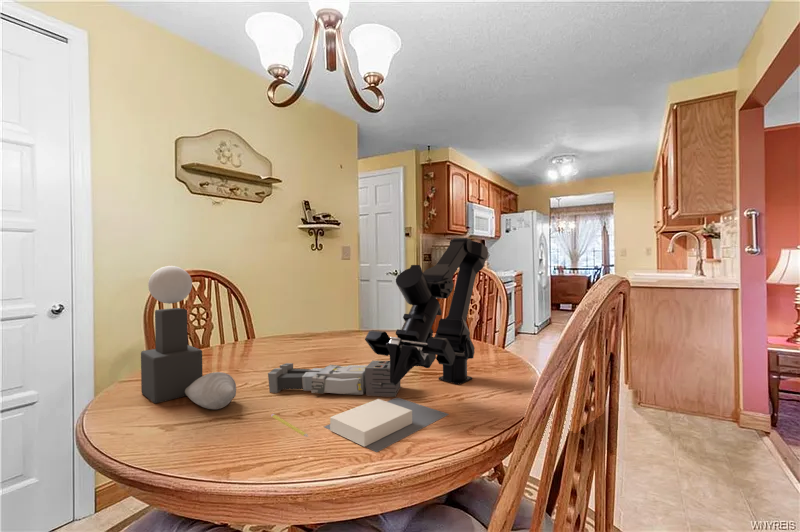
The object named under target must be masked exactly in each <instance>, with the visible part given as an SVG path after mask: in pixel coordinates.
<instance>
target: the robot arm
mask: <svg viewBox="0 0 800 532" xmlns="http://www.w3.org/2000/svg"><path fill="white" fill-rule="evenodd" d="M488 257H489V250H488V247H487V246H486V245H484V243H483V242H478V241H475V240H472V239H471V238H468V237H458V238H457V237H456V238H452V239H451V240H450V241H449V245H448V247H447V248H446V250H445V251H444V253H443V254H442V255H441V257H440V258H439V260H438V261H437V263H436V264H435V265H434V266H432V267H429V268H427V269H425V270H424V271H423V270H422V267H421V265H420V264H411V265H410V267H409V268H407V269H404V270H403V271H401V272H400V273H399V274H397V276H396V279H395V283H396V285H397V287H398V289H399V291H400V293H401V295H402V296H403V298H404V300H405V302H406V303H407V304H408V305H410V306H411V307H410V310H409V312H408V313H404V314H403V317H402V319H403V320H404V323H403V326H402V327H401V329H396V331H395V335H396V337H395V336H394V337H393V336H389V334H388V333H387V332H386V331H382V330H374V329H372V330H369V331H368V332H367V334H366V337H365V338H364V341H365V342H366V344H367V345H368V346H369V348H370V349H371V350H372V351H373V352H374V354H376V355H379V356H386V357H389V361H390V383H391V384H392V385H396V384H397V383H398V382H399V381H400V382H401V380H402V379H403V378H404V377H405V376H406V375H407V374H408V373H409V372H410V371H411V370H412V369H414V367H421V368H422V367H423V368H426V369H429V368H430V367H431V366H432V365H433V363H434V361H435V360H436V362H437V363H438V364H439V365H442V376H439V377H438V380H439V381H443V382H447V383H451V384H454V385H462V384H465V383H466V382H469V381H471V380H473V376H470V375H468V360H470V359H471V360H472V359H474V358H475V357H474V356H475V345H474V344H473V341H472V340H471V339H472V338H471V332H470V329H469V327H468V323H467V317H468V312H469V309H470V304H471V300H472V295H473V290H474V286H475V280H476V276H477V274H479V272H480V271H482V269H484V266H485V263H486V261H487V259H488ZM457 270H458V272H457ZM456 273H457V276H456V282H455V284H454V280H453V277H454V276H455V274H456ZM453 288H454V290H453ZM452 292H453V293H452ZM451 293H452V299H451V303H450V306H449V311H448V315H447V316H446V317H445V318H440V319H439V321H438V325H437V329H436V331H435V334H434V330H433V325H434V323H435V319H436V318H437V316H442V312H443V311H442V309H441V303H440V301H439V299H448V298H449V296H451ZM433 334H434V336H433Z"/></svg>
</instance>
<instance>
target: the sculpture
mask: <svg viewBox="0 0 800 532" xmlns="http://www.w3.org/2000/svg"><path fill="white" fill-rule="evenodd" d="M147 283H148V284H147V286H148V291H149V294H150V295H151V296H152V297H153V298H154V299H155V300H156V301H158V302H160V303H164V304H175V303H180V302H181V301H183V300H185V299H186V298H187V297H188V296H189V295H190V293H191V291H192V289H193V288H192V287H193V280H192V276H191V275H190V274H189V272H187V271H186V270H185V269H184V268H182V267H179V266H177V265H166V266H162V267H159V268H158V269H156V270H155V271H154V272H153V273H152V274H151V275H150V277H149V279H148V282H147ZM154 324H155V325H154V327H155V329H154V330H155V331H154V332H155V336H154V337H155V340H154V341H155V348H152V349H145V350H141V351H140V374H141V375H140V379H141V394H142V395H143V396H144V397H146V398H147V399H148V400H149V401H150V402H152V403H154V404H159V403H163V402H168V401H171V400H175V399H178V398H179V397H180V398H182V397H188V396H187V395H186V394H185V389H186V388H187V387H189V386H190V385H191V384H192V383H193V382H194V381H196V380H197V379H198V378H200V377H202V376H204V374H203V350H202V349H200V348H198V347H194V346H192V345H189V344H188V343H189V342H188V310H187V309H186V308H181V307H176V308H175V307H174V308H164V309H163V308H162V309H161V308H160V309H156V310H155V311H154ZM180 398H179V399H180Z"/></svg>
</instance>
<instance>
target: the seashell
mask: <svg viewBox="0 0 800 532" xmlns="http://www.w3.org/2000/svg"><path fill="white" fill-rule="evenodd" d="M236 384H237V383H236V381H235V379H234V378H233V376H232V375H230V374H228V373H226V372H221V371H214V372H210V373H206V374H205V375H204V374H203V376H202V377H200V378H198V379H197V380H196V381H194V382H193V383H192V384H191V385H190V386H189V387H187V388H186V389H185V394H186V395H187V396H186V397H187V398H189V399H190V400H191V402H193V403H195V404H196V405H198V406H200V407H202V408H205V409H208V410H221V409H223V408H224V407H227V406H228V405H229V404H230V403H231V402H232V400H234V399H235V397H236V395H237V385H236Z"/></svg>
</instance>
